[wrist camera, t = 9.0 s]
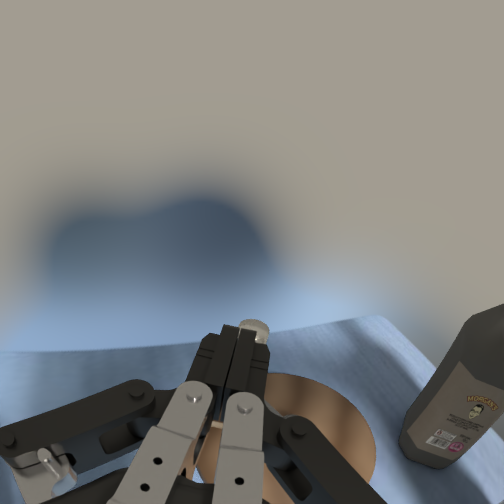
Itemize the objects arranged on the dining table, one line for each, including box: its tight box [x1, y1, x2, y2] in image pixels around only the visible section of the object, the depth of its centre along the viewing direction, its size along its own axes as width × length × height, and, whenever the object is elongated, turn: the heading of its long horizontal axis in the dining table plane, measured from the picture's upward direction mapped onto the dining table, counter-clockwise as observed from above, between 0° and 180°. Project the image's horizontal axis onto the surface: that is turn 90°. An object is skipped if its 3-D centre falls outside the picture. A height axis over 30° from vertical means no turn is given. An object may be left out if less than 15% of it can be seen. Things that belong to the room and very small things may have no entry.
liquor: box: [399, 304, 504, 469], centre depth 24 cm, size 9×9×30 cm
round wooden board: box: [196, 373, 376, 504], centre depth 29 cm, size 20×20×2 cm
